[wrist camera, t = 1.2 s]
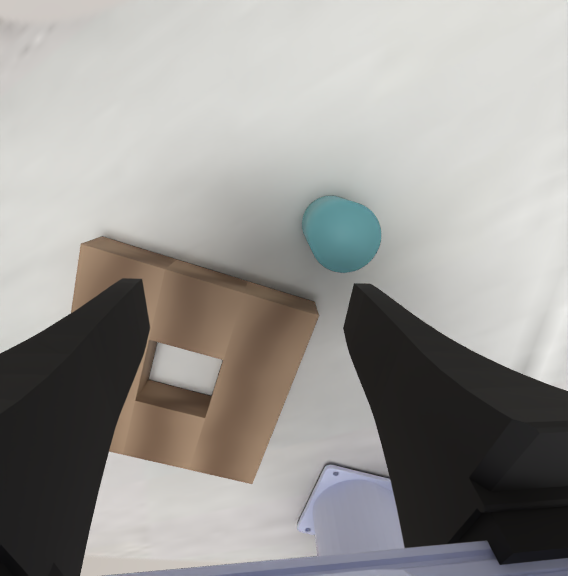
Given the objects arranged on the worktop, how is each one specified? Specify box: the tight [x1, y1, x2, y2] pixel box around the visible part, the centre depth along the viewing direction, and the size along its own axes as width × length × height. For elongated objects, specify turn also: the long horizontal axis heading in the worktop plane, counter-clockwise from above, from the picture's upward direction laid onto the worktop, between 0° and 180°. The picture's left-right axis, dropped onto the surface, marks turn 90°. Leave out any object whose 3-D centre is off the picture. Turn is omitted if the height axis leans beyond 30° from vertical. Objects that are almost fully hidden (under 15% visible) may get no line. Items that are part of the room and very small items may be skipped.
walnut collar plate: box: [71, 237, 319, 484], centre depth 24 cm, size 15×15×2 cm
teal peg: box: [302, 196, 381, 273], centre depth 19 cm, size 4×4×6 cm
